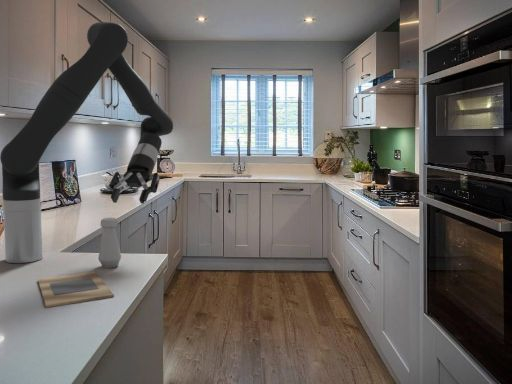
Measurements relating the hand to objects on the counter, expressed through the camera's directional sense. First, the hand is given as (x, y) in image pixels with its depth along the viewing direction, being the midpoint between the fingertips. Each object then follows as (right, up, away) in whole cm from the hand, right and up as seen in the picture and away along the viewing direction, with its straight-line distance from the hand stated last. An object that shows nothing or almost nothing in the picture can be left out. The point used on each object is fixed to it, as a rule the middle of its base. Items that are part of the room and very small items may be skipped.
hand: (127, 201), depth 126 cm
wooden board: (-4, -19, -29) cm, 34 cm away
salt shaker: (-2, -17, -9) cm, 20 cm away
